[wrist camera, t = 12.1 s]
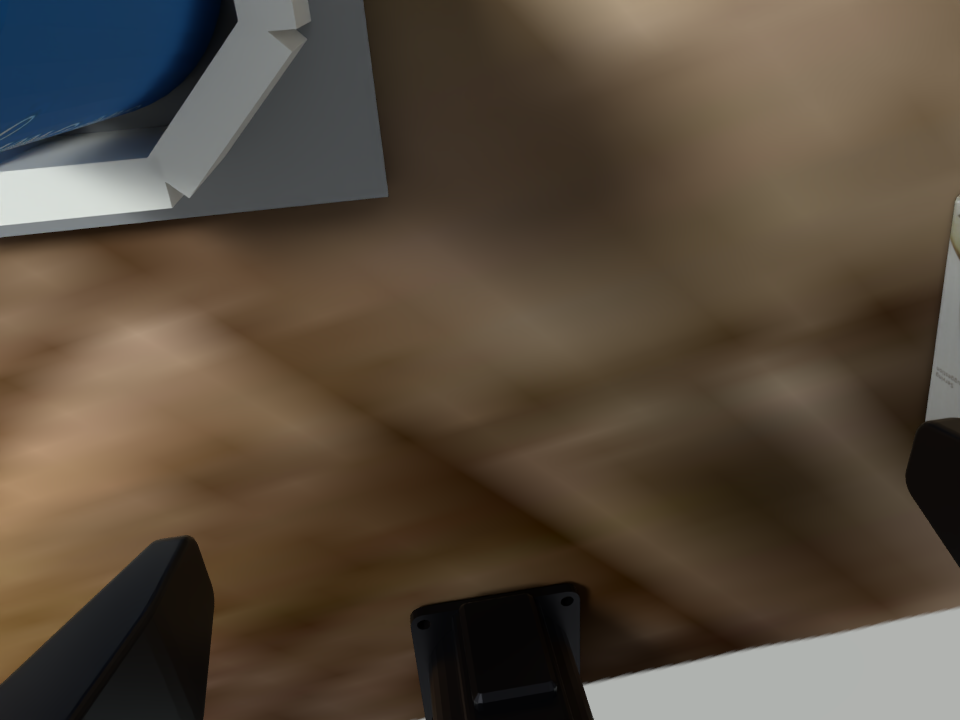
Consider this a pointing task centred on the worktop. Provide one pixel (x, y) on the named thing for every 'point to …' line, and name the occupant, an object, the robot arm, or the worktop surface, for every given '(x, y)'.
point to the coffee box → (948, 336)
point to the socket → (220, 131)
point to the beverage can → (93, 60)
